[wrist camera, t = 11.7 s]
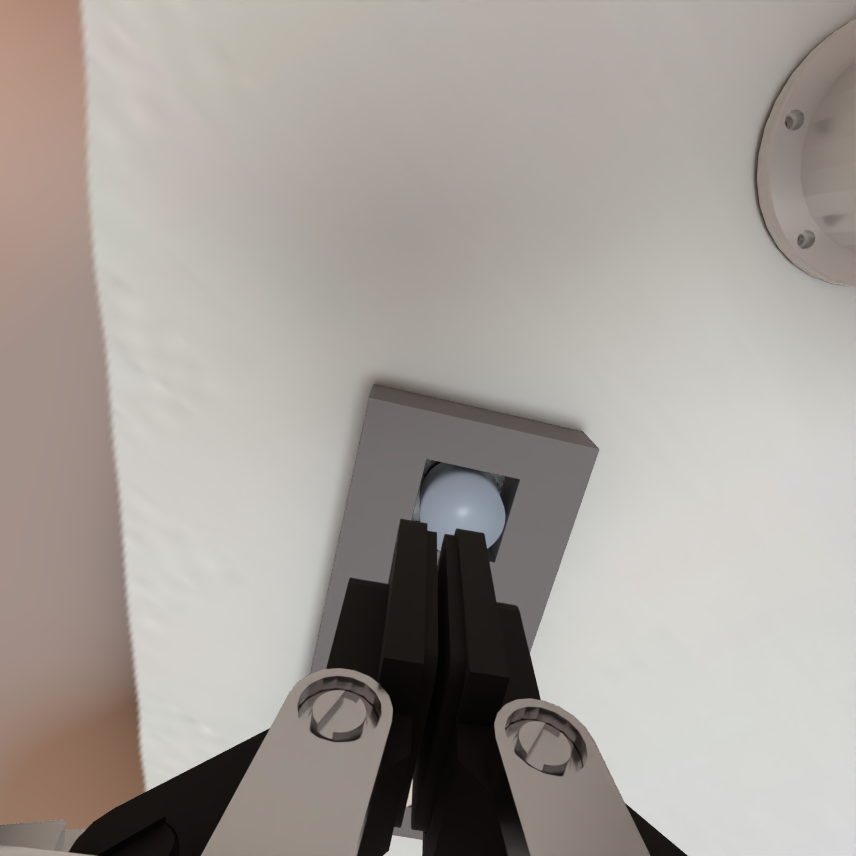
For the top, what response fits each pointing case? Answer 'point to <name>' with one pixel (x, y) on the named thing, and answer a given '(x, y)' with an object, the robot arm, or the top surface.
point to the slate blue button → (461, 502)
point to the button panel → (472, 448)
